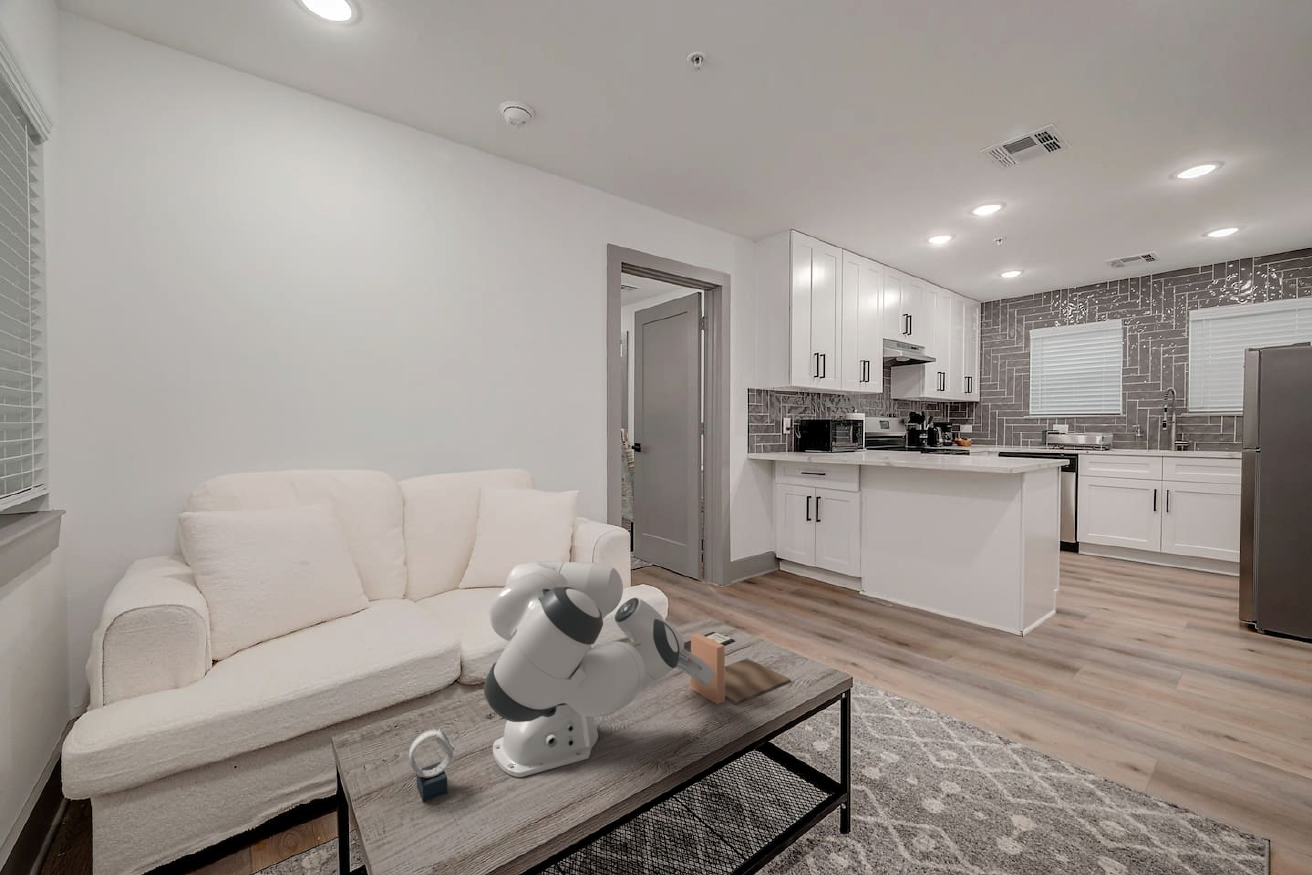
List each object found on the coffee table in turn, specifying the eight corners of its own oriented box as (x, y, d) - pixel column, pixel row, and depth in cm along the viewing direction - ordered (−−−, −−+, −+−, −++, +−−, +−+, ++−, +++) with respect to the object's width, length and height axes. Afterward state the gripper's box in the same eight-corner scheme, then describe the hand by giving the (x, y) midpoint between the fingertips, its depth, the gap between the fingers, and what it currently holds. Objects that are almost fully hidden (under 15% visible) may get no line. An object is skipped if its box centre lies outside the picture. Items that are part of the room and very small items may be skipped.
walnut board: (736, 704, 135) (736, 701, 135) (694, 679, 148) (694, 677, 148) (790, 681, 147) (790, 679, 147) (747, 660, 160) (747, 658, 160)
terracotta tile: (717, 704, 135) (717, 648, 135) (691, 688, 143) (691, 635, 143) (725, 700, 137) (725, 645, 136) (699, 685, 145) (698, 632, 144)
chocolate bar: (673, 646, 168) (713, 631, 180) (673, 649, 168) (713, 634, 180) (694, 656, 161) (734, 639, 173) (694, 659, 161) (734, 642, 174)
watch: (458, 789, 104) (457, 732, 104) (412, 806, 100) (411, 746, 99) (450, 773, 109) (449, 719, 108) (406, 789, 104) (405, 732, 104)
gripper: (700, 648, 124) (732, 678, 130) (648, 621, 141) (678, 650, 147) (685, 673, 122) (718, 703, 128) (634, 643, 138) (665, 671, 144)
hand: (696, 674), depth 137 cm, fingers closed
